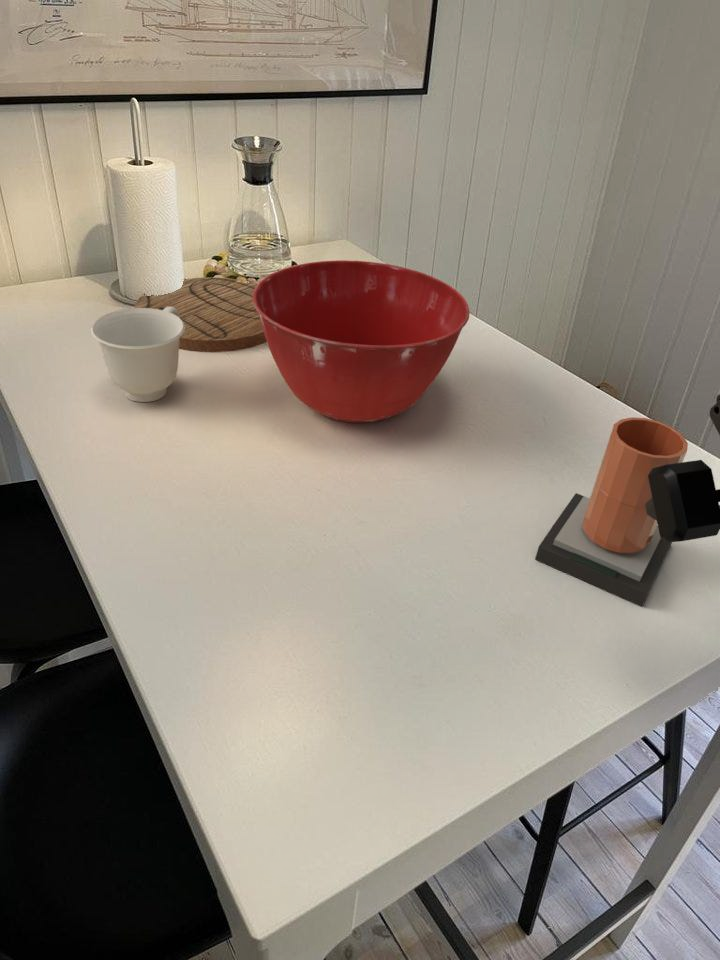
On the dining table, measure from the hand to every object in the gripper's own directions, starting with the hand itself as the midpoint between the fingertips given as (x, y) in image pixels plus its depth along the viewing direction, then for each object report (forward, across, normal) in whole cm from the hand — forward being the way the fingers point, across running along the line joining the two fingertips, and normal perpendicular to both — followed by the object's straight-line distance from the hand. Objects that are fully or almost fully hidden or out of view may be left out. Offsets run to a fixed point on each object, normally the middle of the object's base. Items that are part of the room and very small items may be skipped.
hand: (688, 502), depth 71 cm
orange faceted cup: (+13, 0, +2) cm, 13 cm away
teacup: (+48, +46, -28) cm, 72 cm away
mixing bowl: (+42, +18, -23) cm, 51 cm away
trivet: (+63, +34, -44) cm, 84 cm away
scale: (+15, 0, +4) cm, 16 cm away
